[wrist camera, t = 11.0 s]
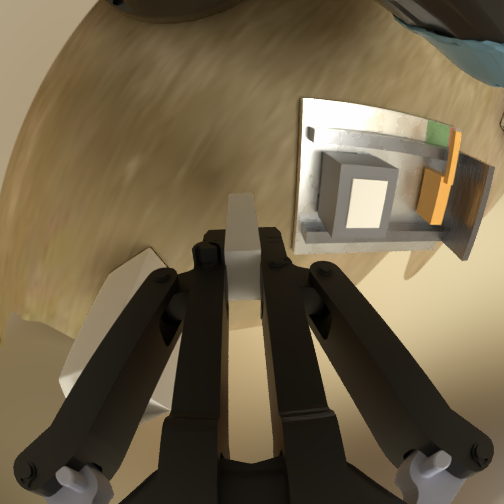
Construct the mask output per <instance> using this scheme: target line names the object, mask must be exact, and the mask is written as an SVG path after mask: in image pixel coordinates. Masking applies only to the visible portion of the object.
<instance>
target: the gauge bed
mask: <svg viewBox="0 0 504 504" xmlns="http://www.w3.org/2000/svg"><path fill="white" fill-rule="evenodd" d="M452 130H455V131H458V132H460V131H461V129H458V128H455V127H452V126H449V125H445V124H442V123H439V122H435V121H432V120H428V119H425V118H421V117H417V116H413V115H409V114H405V113H400V112H396V111H391V110H386V109H381V108H376V107H370V106H364V105H358V104H351V103H344V102H336V101H328V100H318V99H306V98H300V124H299V148H298V168H297V186H296V201H295V216H294V229H293V241H292V250H293V253H294V255H299V254H329V253H359V252H387V251H414V250H433V249H434V246H435V243H436V241H442V242H443V243H444V244H445V245H446V246H447V247H449V248H450V249H451V250H452V251H453V252H454V253H455V254H456V255H457V256H458V257H459V258H460V259H461V260H462V261H464V260H468V257H469V255H470V252H471V249H472V247H473V244H474V241H475V238H476V235H477V232H478V229H479V226H480V223H481V220H482V217H483V214H484V210H485V207H486V203H487V199H488V195H489V191H490V187H491V183H492V178H493V174H494V169H495V167H493V166H491V165H489V164H487V163H485V162H483V161H481V160H479V159H477V158H474V157H472V156H470V155H468V154H466V153H463V152H461V151H459V154H458V160H457V166H456V171H455V176H454V181H453V185H451V188H450V192H449V197H448V201H447V205H446V209H445V212H444V216H443V220H442V223H441V225H430V224H429V223H428V222H427V221H425V220H424V219H423V218H422V217H421V216H420V215H418V214H417V213H416V211H417V206H418V202H419V198H420V193H421V188H422V183H423V178H424V173H425V168H430V169H436V170H438V171H440V172H442V173H444V174H445V172H446V166H447V161H448V155H449V148H450V141H451V133H452ZM323 151H326V152H340V153H352V154H363V155H372V156H376V157H378V158H380V159H382V160H383V161H385V162H387V163H389V164H391V165H392V166H394V167H396V168H398V169H399V173H398V179H397V185H396V191H395V196H394V201H393V206H392V211H391V215H390V220H389V224H388V229H387V233H386V237H383V238H331V236H330V235H329V233H328V231H327V230H326V228H325V226H324V225H323V223H322V222H321V220H320V218H319V217H318V205H319V196H320V185H321V174H322V162H323Z"/></svg>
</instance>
